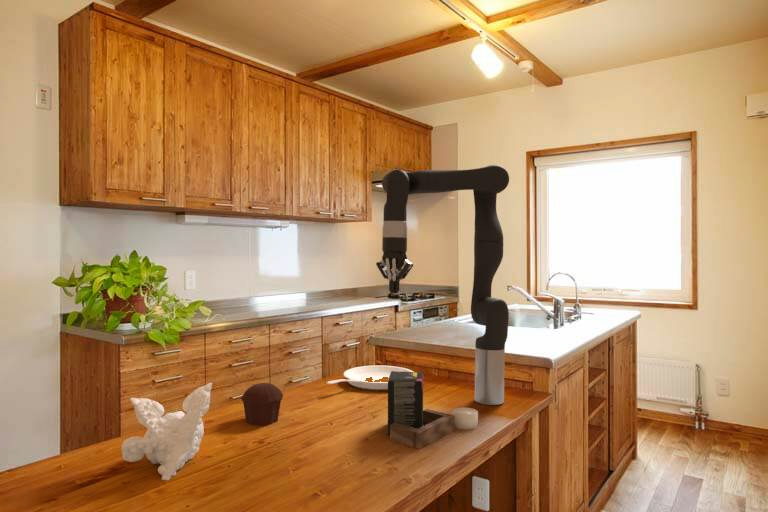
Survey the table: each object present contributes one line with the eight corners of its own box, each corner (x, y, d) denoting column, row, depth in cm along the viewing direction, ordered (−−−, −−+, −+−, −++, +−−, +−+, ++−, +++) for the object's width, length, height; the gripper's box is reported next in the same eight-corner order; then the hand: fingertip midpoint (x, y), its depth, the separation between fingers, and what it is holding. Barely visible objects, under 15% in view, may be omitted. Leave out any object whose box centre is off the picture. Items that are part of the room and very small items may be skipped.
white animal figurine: (209, 400, 133) (212, 374, 117) (216, 482, 124) (220, 466, 108) (128, 412, 126) (119, 386, 110) (128, 500, 117) (119, 486, 101)
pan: (430, 382, 190) (430, 369, 190) (356, 405, 161) (356, 390, 161) (377, 371, 208) (377, 359, 207) (301, 389, 179) (301, 375, 179)
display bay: (426, 423, 145) (426, 408, 145) (454, 430, 139) (455, 415, 139) (390, 440, 131) (390, 424, 131) (419, 449, 126) (419, 432, 126)
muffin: (269, 411, 154) (269, 377, 154) (291, 420, 146) (291, 384, 146) (232, 420, 146) (233, 384, 145) (253, 430, 138) (254, 392, 138)
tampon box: (422, 437, 134) (423, 381, 134) (386, 436, 135) (387, 379, 134) (423, 423, 145) (423, 371, 144) (389, 422, 145) (390, 370, 145)
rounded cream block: (460, 419, 149) (460, 405, 149) (482, 425, 144) (482, 410, 144) (447, 426, 143) (447, 411, 143) (470, 431, 139) (470, 416, 139)
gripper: (419, 236, 157) (418, 293, 158) (385, 236, 165) (384, 291, 166) (405, 235, 151) (404, 295, 152) (370, 236, 159) (369, 292, 160)
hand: (394, 293), depth 159 cm, fingers closed
